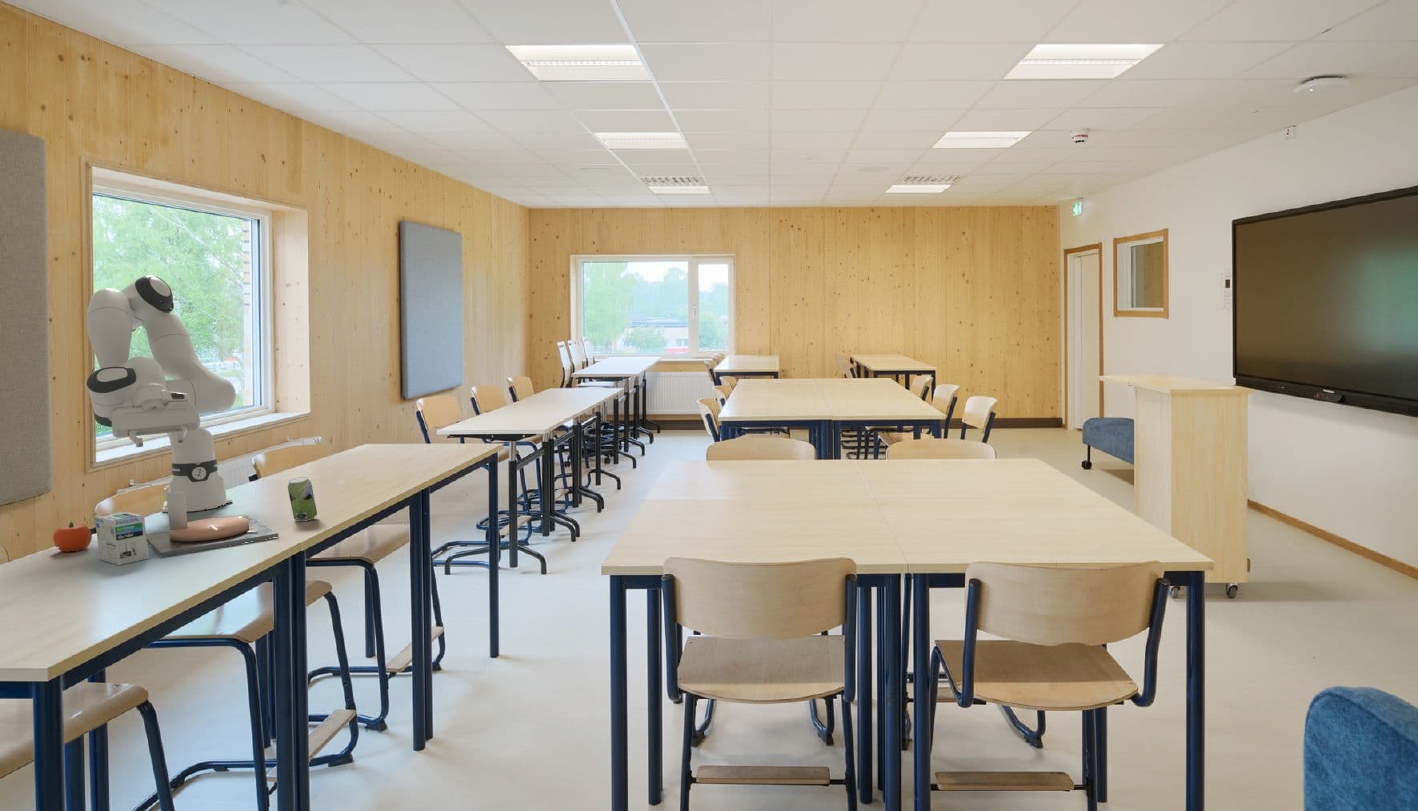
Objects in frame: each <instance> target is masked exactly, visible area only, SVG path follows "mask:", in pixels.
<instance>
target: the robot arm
mask: <svg viewBox="0 0 1418 811" xmlns="http://www.w3.org/2000/svg"><path fill="white" fill-rule="evenodd" d="M172 291H173V290H172V289H171V287H170V285H169V284H168V283H167V282H166V281H165V280H164V279H162V278H160V277H158V276H156V275H152V274H149V275H143V276H142V277H139V278H137V279H136V280H135V281H134V282H132V283H130V284H129V285H127V286H126V287H124V288H123V289H121V290H118V289H115V288H102V289H101V288H100V289H98V290H97V291H95V292H94V293H92V295H91V297H90V300H89V303H88V307H87V311H86V331H87V335H88V338H89V342H90V344H91V346H92V349H93V352H94V354H95V357H96V360H97V363H98V365H99V369H97V370H96V371H94V372H92V373H91V374H90V375H89V376H88V377H87V380H86V387H87V390H88V394H89V399H90V402H91V405H92V409H93V410H92V411H93V416H94V418H93V419H94V420H95V421H96V423H97V424H99V425H101V426H104V427H107V428H111V434H112V436H113V437H115V438H117V439H119V438H129V440H130V441H131V442H133V443H135V446H136V447H135V448H142V447H144V441H143V438H142V437H140V436H149V435H160V434H167V435H168V439H169V442H170V448H171V456H172V463H171V466H170V468H171V469H170V470H171V475H173V476H172V478H171V480H170V481H169V483H168V485H167V486H165V487H164V488H163V492H164V493H163V494H164V496H166V494H167V493H171V492H185V502H186V513H187V512H196V511H199V512H200V511H205V509H206V510H211V509H216V508H219V507H218V506H220V507H222V506H221V505H223V506H225V505H227V504H226V503H229V502H232V501H233V499H232V498H228V497H227V491H226V484H225V478H224V476H222V475H221V474H220V473H218V470H219V468H218V460H217V459H216V455H215V442H214V436H213V434H212V433H211V432H210V431H209V430H208V429H207V428H204V427H201V418H200V415H211V414H217V413H220V412H224V411H227V410H229V409H231V408H232V407H233V406H234V404H235V402H236V396H237V395H236V394H237V393H236V389H235V387H234V385H233V383H232V382H230V381H229V380H228V379H227V378H224V377H221V376H219V375H218V374H216V373H214V372H212V371H211V370H209V368H207V367H206V366H205V365H204V364H203V363H202V361H200V359H199V357H198V355H197V353H196V350H195V348H194V346H193V343H192V340H191V338H190V335H189V332H188V331H187V328H186V327H185V324H184V323H183V321H182V320H181V319H180V317H179V316H178V315H176V314H175V313H173V312H172V311H173V310H174V307H175V304H174V297H173V292H172ZM141 326H142V327H143V328H144V329H145V331H146V336H147V342H148V346H149V349H150V352H151V355H152V357H150V356H147V355H137V356H133V357H131V358H129V357H130V350H131V345H132V344H131V342H132V337H133V336H132V335H133V333H134V332H135V331H136V330H137V329H138V328H140V327H141ZM166 377H167V378H169V380H166ZM166 497H167V496H166ZM232 503H233V502H232ZM224 504H225V505H224ZM229 504H230V503H229ZM161 512H162V513H168V507H167V500H164V502H163V505H162V509H161Z"/></svg>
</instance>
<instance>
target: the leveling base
mask: <svg viewBox="0 0 1418 811" xmlns="http://www.w3.org/2000/svg"><path fill="white" fill-rule="evenodd" d="M233 517H241V518H246V519H248V520H249V529H248V530H247V531H245V532H243V533H240V534H237V535H233V536H229V537H224V538H219V539H212V540H203V541H174V540H171V539H170V537H169V529H168V530H163V531H162V530H161V531H156V532H149V533H146V540H147V542H148V543H147V545H149V546H150V545H151V546H150V547H151V548H152V549H153V550H154V551H155V553H157V555H159V557H160V558H161V559H162V558H166V557H167V558H168V557H173V556H178V555H184V554H185V553H186V554H190V553H191V554H192V553H197V552H204V551H208V550H207V549H209V550H214V549H219V548H220V547H221V548H225V546H227V547H230V546H229V545H233V546H238V545H243V544H242V543H245V542H251V541H257V542H261V541H260V540H263V541H266V540H265V539H269V538H273V537H279V533H278V532H276V531H275V530H273V529H271V527H269V526H267V525H265V524H264V523H262V522H261V521H259V520H257V519H255V518H254V517H250V515H248V514H242V515H240V514H239V515H234V516H233ZM269 540H270V539H269ZM251 543H252V542H251ZM245 544H246V543H245ZM221 548H220V549H221ZM203 550H204V551H203ZM186 554H185V555H186Z"/></svg>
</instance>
